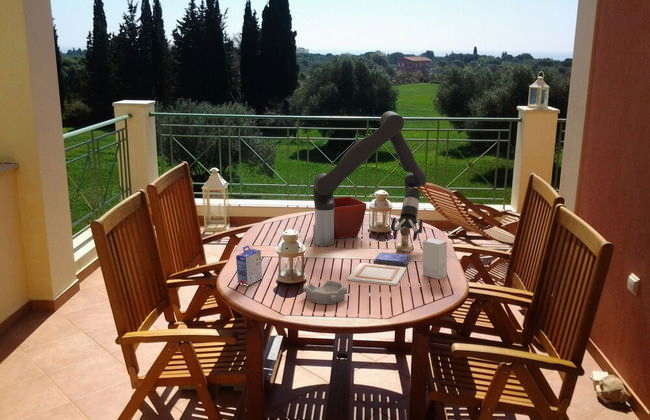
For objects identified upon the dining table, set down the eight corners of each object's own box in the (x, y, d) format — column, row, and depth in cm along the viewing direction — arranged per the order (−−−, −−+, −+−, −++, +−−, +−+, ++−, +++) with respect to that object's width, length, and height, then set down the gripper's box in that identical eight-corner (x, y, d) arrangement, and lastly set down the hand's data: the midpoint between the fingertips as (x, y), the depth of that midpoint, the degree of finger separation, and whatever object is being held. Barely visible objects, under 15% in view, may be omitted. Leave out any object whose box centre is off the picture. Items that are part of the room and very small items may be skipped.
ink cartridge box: (251, 277, 255) (250, 242, 251) (262, 279, 252) (262, 244, 249) (236, 284, 247) (235, 249, 243) (247, 287, 244) (246, 251, 240)
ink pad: (373, 263, 272) (373, 259, 271) (379, 255, 282) (379, 251, 281) (405, 266, 267) (406, 262, 267) (410, 258, 277) (410, 254, 277)
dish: (299, 298, 233) (298, 285, 232) (325, 289, 242) (325, 276, 241) (326, 309, 223) (326, 296, 222) (353, 299, 232) (353, 286, 231)
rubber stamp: (396, 251, 288) (396, 227, 285) (399, 247, 294) (399, 224, 291) (410, 252, 286) (411, 229, 283) (412, 248, 292) (413, 225, 289)
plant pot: (315, 232, 318) (315, 199, 314) (349, 227, 326) (349, 196, 322) (331, 242, 302) (331, 207, 298) (367, 237, 309) (367, 204, 305)
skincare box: (446, 276, 256) (448, 241, 252) (437, 280, 252) (439, 244, 248) (430, 271, 261) (431, 237, 258) (421, 274, 257) (422, 239, 254)
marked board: (347, 280, 251) (347, 277, 251) (360, 264, 270) (360, 262, 270) (396, 285, 245) (396, 283, 245) (406, 269, 264) (406, 266, 264)
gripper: (393, 203, 294) (388, 233, 286) (424, 205, 290) (419, 236, 282) (396, 212, 300) (390, 241, 292) (425, 214, 296) (420, 244, 288)
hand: (404, 239), depth 287 cm, fingers open, 8 cm apart
